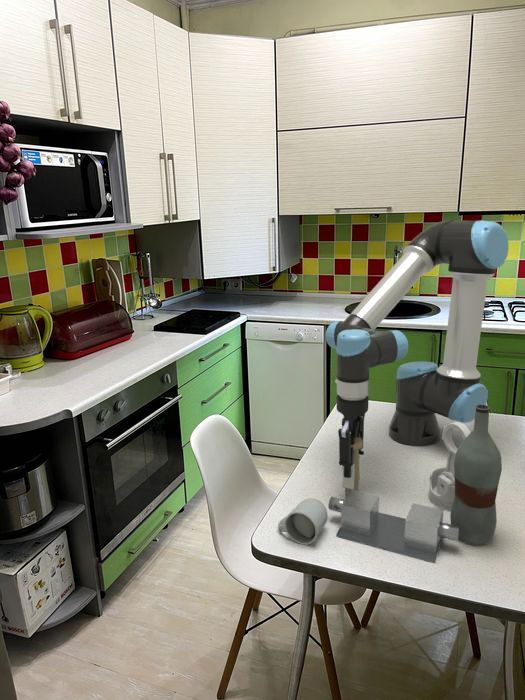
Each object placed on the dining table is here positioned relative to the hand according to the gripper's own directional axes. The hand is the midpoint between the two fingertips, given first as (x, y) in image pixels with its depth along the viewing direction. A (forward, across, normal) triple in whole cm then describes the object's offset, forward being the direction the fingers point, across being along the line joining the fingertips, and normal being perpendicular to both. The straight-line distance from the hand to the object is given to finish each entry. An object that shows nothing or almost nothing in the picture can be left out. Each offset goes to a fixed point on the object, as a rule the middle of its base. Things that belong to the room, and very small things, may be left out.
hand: (351, 482), depth 132 cm
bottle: (+3, +5, +29) cm, 30 cm away
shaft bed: (+3, +12, +13) cm, 18 cm away
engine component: (+3, -7, +23) cm, 24 cm away
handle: (+3, 0, 0) cm, 3 cm away
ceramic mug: (+3, +20, -5) cm, 21 cm away
